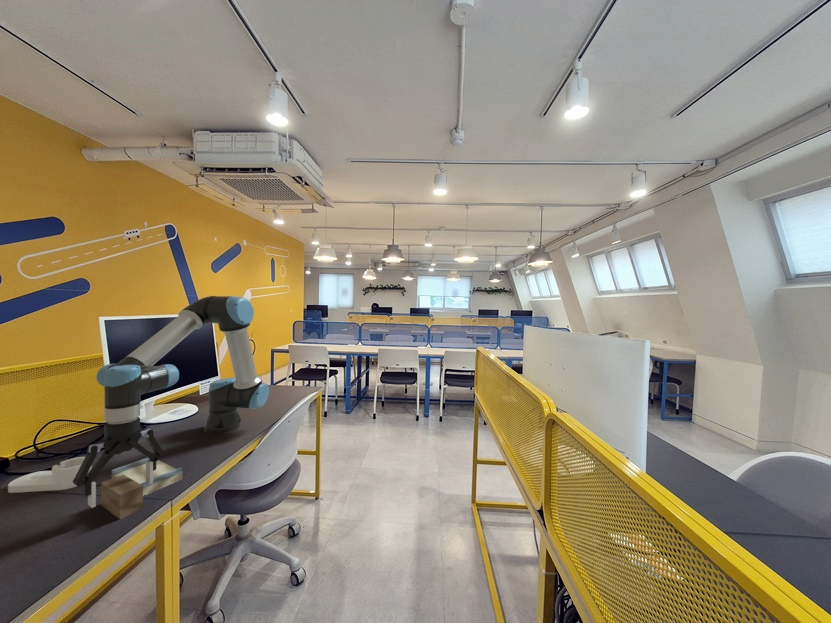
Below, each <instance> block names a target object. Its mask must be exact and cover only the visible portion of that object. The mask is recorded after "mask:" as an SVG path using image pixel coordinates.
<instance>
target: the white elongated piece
mask: <svg viewBox="0 0 831 623" xmlns="http://www.w3.org/2000/svg"><path fill="white" fill-rule="evenodd" d="M85 457H86V456H78V457H72V458H70V459H66V460H63V461H60V462H59V464H55V465H53V466H52V468H51V470H40V471H34V472H31V473H28V474H24V475H22V476H19V477H17V478H16V479H13V480H12V481H10V482H9V483H8V484H7V492H8V494H9V493H10V494H12V493H15V494H16V493H28V492H30V493H31V492H45V491H46V492H48V491H51V492H52V491H63V490H68V489H73V488H76V487H77V486H76V485H75V484H74V483H73V480H74V478H75V476H76V474H77V472H78V470H79V468H80V466H81V465H82V463H83V461H84V459H85ZM92 467H93V464H92V465H91V467H90V469H89V471H90V470H91V469H92ZM89 471H88V472H89ZM87 474H88V473H87Z"/></svg>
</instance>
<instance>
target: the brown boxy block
mask: <svg viewBox="0 0 831 623" xmlns="http://www.w3.org/2000/svg"><path fill="white" fill-rule="evenodd" d="M100 483H101V484H100V495H101V496H100V506H101V507H103V509H105V510H107V511H108V512H109V513H111V514H112V515H114V517H116V518H118V520H122V519H124V518H126V517H128V516H130V515H133V514H134V513H137V512H139V511H141V510H143V506H144V504H143V503H144V502H143V501H144V496H143V485H141V484H139V483H137V482H136V481H134V480H132V479H130V478H129V477H127V476H125V475H121V476H118V477H115V478H113V479H112V478H109V479H107V480H105V481H101V482H100Z"/></svg>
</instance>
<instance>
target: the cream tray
mask: <svg viewBox="0 0 831 623" xmlns="http://www.w3.org/2000/svg"><path fill="white" fill-rule="evenodd" d="M147 460H150V459H149V458H147V457H145V458H142V459H139V460H137V461H133V462H130V463H128V464H125V465H122V466H119V467H117V468H114V469H111V479H113V478H115V477H118V476H121V475H125V476H127V477H129V478H130V479H132V480H134V481H136V482H137V483H139V484H141V485H143V497H145V496H147V495H149V494H152V493H154V492H156V491H159V490H161V489H163V488H166V487H167V486H170V485H172V484H174V483H176V482H179V481H182V480H183V476H184V475H183V473H184V472H183V467H177V468H175V467H173V466H171V465H169V464H168V463H166V462H164V461H162V460H159V459H158V461H156V470H154V471H153V483H151V484H149V483H147V482H146V461H147ZM144 495H145V496H144Z"/></svg>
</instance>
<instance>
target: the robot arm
mask: <svg viewBox="0 0 831 623" xmlns="http://www.w3.org/2000/svg"><path fill="white" fill-rule="evenodd" d="M254 316H255V311H254V307H253V304H252V302H250V300H249V299H247V298H246V297H241V296H235V295H232V296H231V295H230V296H227V295H226V296H224V295H223V296H220V295H209V296H205V297H203V298H200V299H197V300H195V301H194V302H192V303H190V304H188V305H186V307H184V308H183V309H181V310H180V311H179V312H178V315H177V317H176V318H174V319H173V320H172V321H170V322H169V323H168V324H166V325H165V326H164V327H163V328H162V329H160V330H158V332H156V333H155V334H154V335H152V336H151V337H150V338H148V339H147V340H146V341H145V342H144V343H142V344H141V345H140V346H138V347H137V348H136V349H135V350H133V351H132V352H131V353H129V354H128V355H126V356H125V357H124V358H122V359H121V360H120V361H119V362H118V363H113V362H112V363H109V364H106V365H103V366H102V367H100V368H99V369H98V371H97V373H96V375H95V376H96V380H97V383H98V384H99V385H100V386H102V387H104V388H103V389H104V390H103V391H104V394H103V395H104V422H105V423H104V425H103V426H104V428H103V430H104V432H103V433H104V434H103V435H104V439H103V441H102V442H99V443H96V444H94V443H91V444H88V446H87V453H86V455H85V456H84V457H85V459H84V461H83V463H82V465H81V466H80V468H79V470H78V472H77V474H76V476H75V478H74V480H73V483H74V484H75V485H76V487H80V486H82V494H83V495H84V497H87V506H89V507H90V508H91V509H93V508H95V507H97V506H96V505H97V482H96V481H94V480H95V479H96V477H98V475H99V474H100V473H101V471H102V470H103V469H104V468H105V466H106V465H107V463H108V462H109V461H110V460H111V459H112V458H113V457H114V456H115V455H120V454H122V453H124V452H129V451H131V450H132V449H135V450H136V451H138V452H139V453H141V454H142V455H143V456H145V458H149V459H150V460H147V461H146V482H147V483H149V484H151V483H153V471H154V470H156V461H158V460H159V458H161V457H163V456H164V454H165V452H164V451H163V449H162V447H161V446H160V444H159V443H158V441H157V439H156V438H155V435H154V430H153V429H151V428H145V430H142V431H141V418H140V416H141V396H142V395H144V394H148V393H152V392H155V391H159V390H164V389H167V388H170V387H171V386H174V385H175V384H177V383H178V381H179V378H180V371H179V369H178V368H177V367H176V365H174V364H170V363H167V364H161V365H160V364H159V365H156V363H157V362H158V361H160V360H161V359H162V358H163V357H165V356H166V355H167V354H168V353H169V352H171V351H172V350H173V349H174V348H175V347H176V346H177V345H178V344H180V343H181V342H182V341H183V340H184V339H185V338H187V337H188V336H189V335H190V334H191V333H193V332H194V331H195V330H199V329H201V328H202V327H204V326H205V325H208V324H218V328H219V331H220V332H222V333H223V334H224V337H225V339H226V340H225V341H226V345H227V348H228V352H229V357H230V360H231V361H230V362H231V365H232V370H233V374H234V377H228V378H227V377H226V378H221V379H218V380H214V381H212V382H211V383H209V387H208V415H207V418H206V419H205V423H204V425H203V432H204V433H206V434H208V435H209V434H210V435H218V434H219V435H220V434H225V433H229V432H232V431H235V430H237V429H239V428H240V427H241V426H242V419H241V415H240V413H239V410H238V409H239V408H240V409H250V410H252V409H254V410H255V409H260V408H262V407H263V406H264V405H265V404H266V402H267V400H268V398H269V394H270V386H269V385H268V384H267V383H266V382H265V383H263V380H262V377H261V376H260V375H258V374H257V371H256V370H257V369H256V363H255V359H254V354H253V351H252V347H251V346H252V345H251V341H250V336H249V332H248V329H249V327H251V323H252V322H253V319H254ZM154 365H155V366H154ZM142 437H144V438H145V439H146V441H147V442H148V444H149V445H150V447H151V448H152V450H153V452H154V453H152V452H151V451H149V450H148V449H147V448H145V447H144V446H142V445H141V444H140V443H138V442H139V441H140V440H141V438H142ZM102 448H104V449H105V450H103V451H102V453H101V456H100V457H99V458H98V459H97V461H96V463H94V461H95V459H96V457H97V455H98V453H100V451H101V449H102ZM93 463H94V464H93ZM91 465H92V469H91V470H90V471H89V469H90V467H91ZM88 471H89V472H88ZM87 473H88V474H87Z"/></svg>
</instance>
